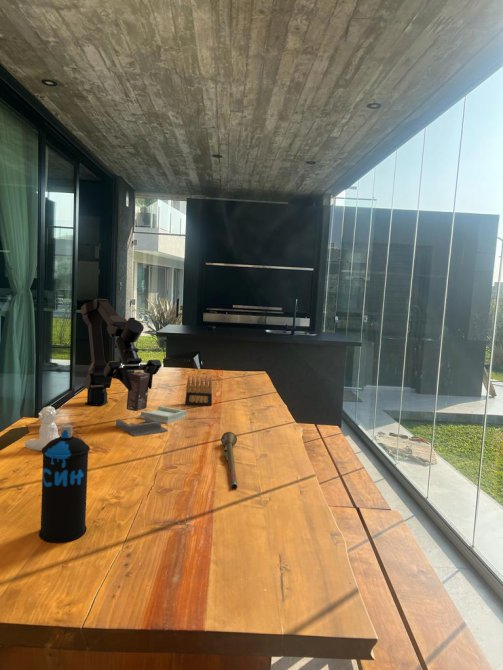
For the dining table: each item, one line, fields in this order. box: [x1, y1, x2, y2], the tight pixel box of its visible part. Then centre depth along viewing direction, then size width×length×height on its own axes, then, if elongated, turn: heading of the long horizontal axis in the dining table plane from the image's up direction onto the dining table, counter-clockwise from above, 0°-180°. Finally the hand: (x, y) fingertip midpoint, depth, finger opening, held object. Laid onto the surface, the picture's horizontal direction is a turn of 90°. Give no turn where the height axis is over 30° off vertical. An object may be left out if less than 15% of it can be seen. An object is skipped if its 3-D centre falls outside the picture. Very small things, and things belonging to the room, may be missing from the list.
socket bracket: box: [115, 416, 169, 437], centre depth 159 cm, size 14×12×2 cm
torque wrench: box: [220, 431, 238, 490], centre depth 132 cm, size 5×35×5 cm
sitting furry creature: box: [24, 405, 61, 452], centre depth 134 cm, size 10×9×12 cm
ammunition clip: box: [184, 374, 213, 407], centre depth 196 cm, size 11×2×12 cm, turn 96°
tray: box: [138, 405, 187, 425], centre depth 174 cm, size 12×12×2 cm
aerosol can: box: [38, 424, 91, 544], centre depth 89 cm, size 8×8×20 cm
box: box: [125, 371, 150, 412], centre depth 160 cm, size 6×4×12 cm
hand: (140, 389), depth 159 cm, fingers closed on box, 7 cm apart
